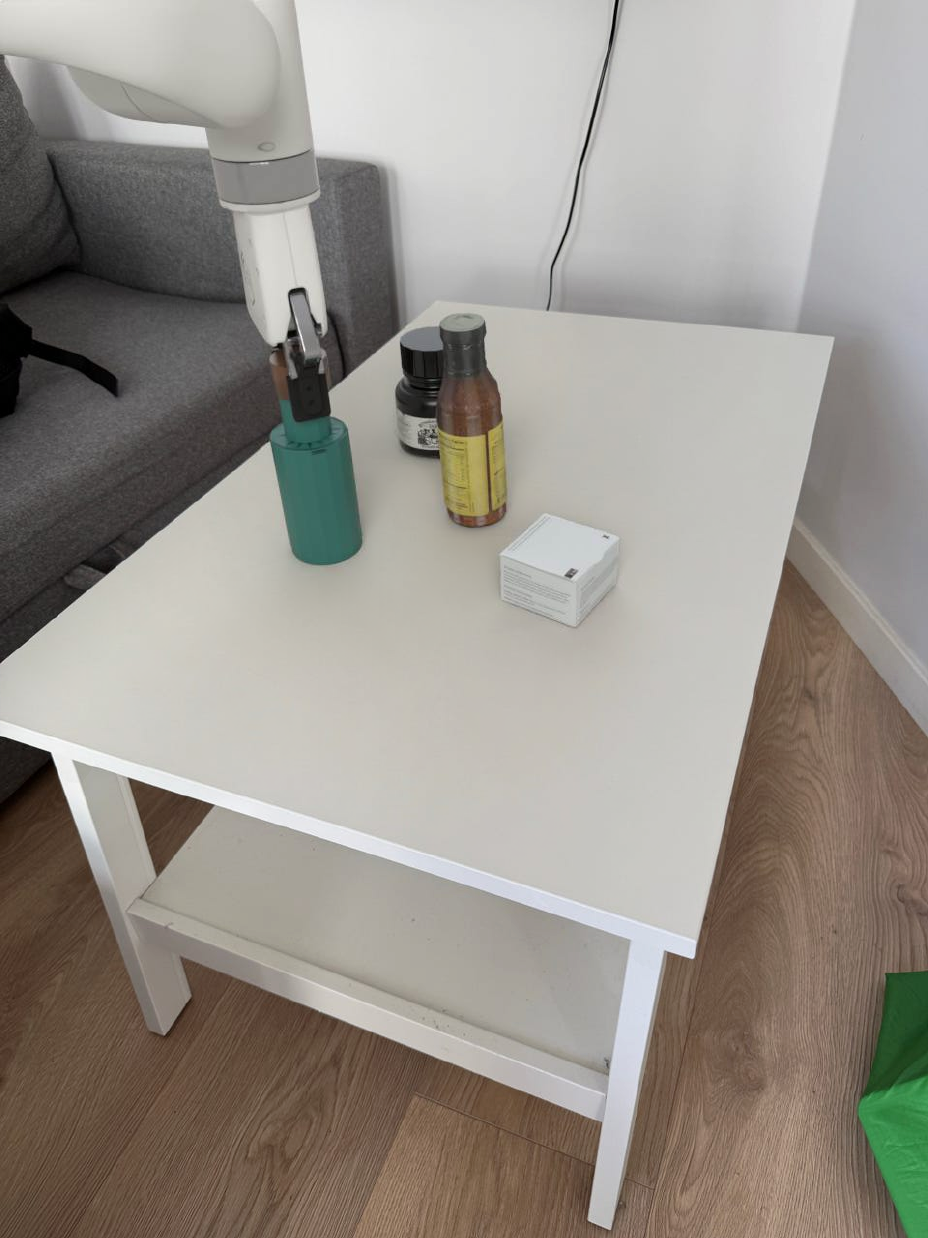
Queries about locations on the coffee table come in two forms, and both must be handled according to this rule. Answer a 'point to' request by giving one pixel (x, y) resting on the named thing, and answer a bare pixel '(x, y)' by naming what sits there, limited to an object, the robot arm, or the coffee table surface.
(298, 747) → the coffee table surface
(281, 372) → the stopper
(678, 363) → the coffee table surface
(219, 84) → the robot arm
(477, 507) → the sauce bottle
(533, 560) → the small box
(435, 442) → the ink bottle
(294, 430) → the bottle
